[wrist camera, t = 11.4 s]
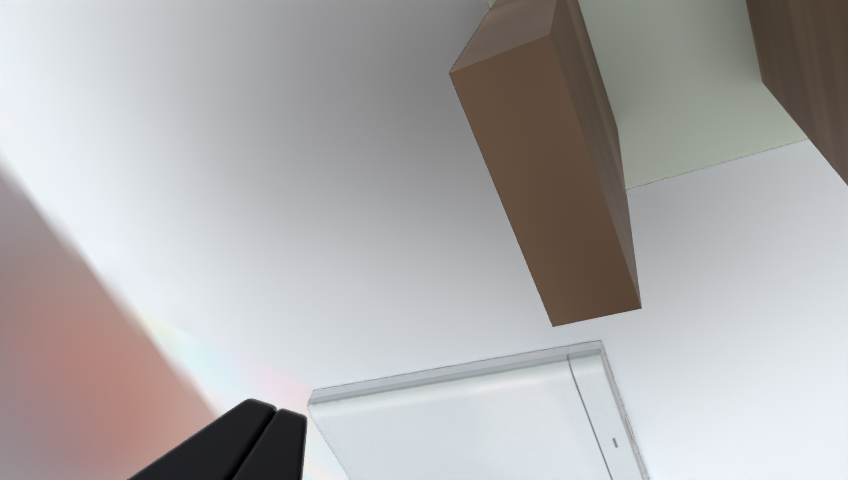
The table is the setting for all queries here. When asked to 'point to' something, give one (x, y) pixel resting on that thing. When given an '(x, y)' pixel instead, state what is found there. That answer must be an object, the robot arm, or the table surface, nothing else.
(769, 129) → the mat
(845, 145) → the domino
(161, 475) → the robot arm
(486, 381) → the hard drive
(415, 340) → the table surface
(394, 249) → the table surface
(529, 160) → the domino
